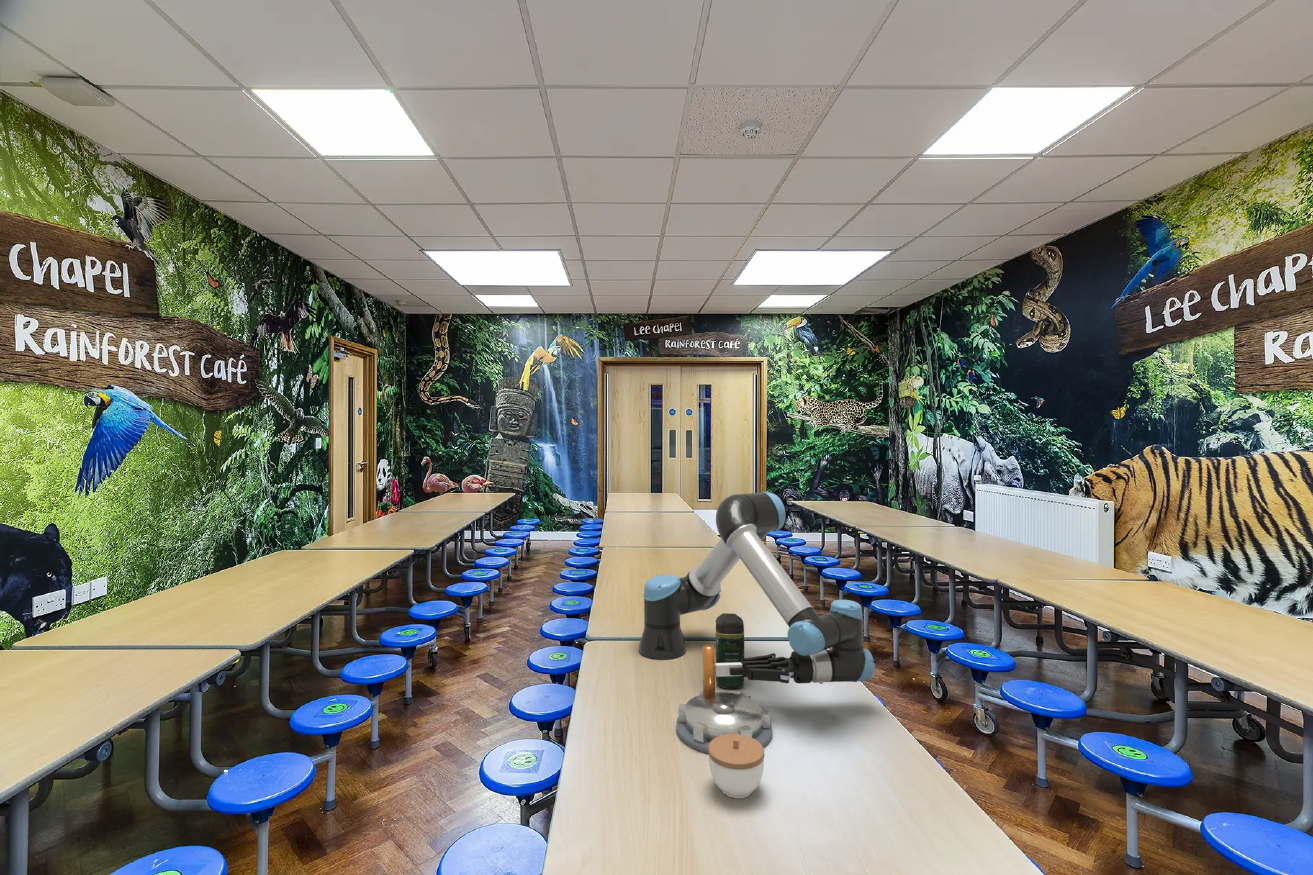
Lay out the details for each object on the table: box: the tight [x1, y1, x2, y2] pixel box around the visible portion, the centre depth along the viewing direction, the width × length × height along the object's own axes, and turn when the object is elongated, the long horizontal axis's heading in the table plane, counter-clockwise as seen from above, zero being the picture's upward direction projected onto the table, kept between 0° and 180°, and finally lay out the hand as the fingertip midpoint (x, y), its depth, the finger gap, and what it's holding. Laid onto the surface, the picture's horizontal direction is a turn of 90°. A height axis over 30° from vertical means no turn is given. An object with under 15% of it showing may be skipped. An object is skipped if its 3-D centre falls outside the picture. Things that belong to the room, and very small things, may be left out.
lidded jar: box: [707, 734, 765, 799], centre depth 106 cm, size 11×11×9 cm
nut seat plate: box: [676, 716, 773, 755], centre depth 128 cm, size 22×22×2 cm
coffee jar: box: [715, 612, 745, 690], centre depth 154 cm, size 10×8×19 cm
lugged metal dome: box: [678, 643, 771, 743], centre depth 128 cm, size 21×19×15 cm
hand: (715, 669), depth 136 cm, fingers closed
